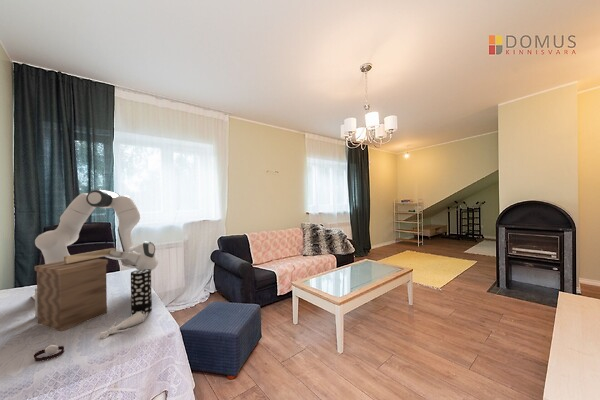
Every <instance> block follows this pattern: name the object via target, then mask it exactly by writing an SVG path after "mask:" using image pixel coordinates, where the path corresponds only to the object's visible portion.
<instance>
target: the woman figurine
mask: <svg viewBox="0 0 600 400" xmlns="http://www.w3.org/2000/svg"><path fill="white" fill-rule="evenodd" d="M144 313H145V312H144V311H143V314H142V313H141V312H137V313H135V314H134V315H131V316H129V317H127V318H126V319H124V320H123V321H122V322H120V323H119V324H118V325H117V322H116V321H115V322H114V323H113V325H112V326H111V327H110V328H108V330H105V331H101V332H100V333H99V334H98V338H99V339H102V340H103V339H105V338H108V337H109V336H110V335H114V334H117V333H121V332H126V331H130V330H132V328H131V327H133V326H136V325H139V324H142V323H144V321H145V318H146V317H147V316H148V313H147V312H146V314H144Z"/></svg>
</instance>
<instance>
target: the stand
mask: <svg viewBox="0 0 600 400" xmlns="http://www.w3.org/2000/svg"><path fill="white" fill-rule="evenodd" d="M108 264H109V259H103V258H93V259H88V260H83V261H78V262H73V263H68V264H67V263H64V261H60V262H55V263H49V264H45V263H44V264H39V265H35V266H34V271H35V272H36V288H37V317H36V318H37V324H38V325H40V326H44V327H46V328H47V327H48V328H49V329H53V330H56V331H59V332H63V331H66V330H67V329H70V328H74V327H75V326H78V325H80V324H83V323H86V322H88V321H90V320H93V319H96V318H97V317H100V316H103V315H106V314H107V313H108V304H107V303H108V302H107V300H108V298H107V297H108V295H107V265H108Z"/></svg>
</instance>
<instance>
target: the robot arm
mask: <svg viewBox="0 0 600 400" xmlns="http://www.w3.org/2000/svg"><path fill="white" fill-rule="evenodd" d="M96 208H99V209H113V210H114V212H115V214H116V216H117V220H118V226H117V234H118V237H119V242H120V245H121V249H122V251H117V250H116V251H112V250H110V251H109V252H108V253H109V254H112V255H108V256H103V257H105V258H108V259H112V260H116V261H117V260H118V261H120V262H121V264H122V266H124V267H127V268H130V269H135V270H141V269H151V272H152V271H154V270H155V269H156V268H157V266H158V264H159V262H158V260H157V258H156V254H155V253H156V246H155V244H154V243H153V242H151V241H149V240H145V241H143V242H141V243H138V244H137V245H135V246H134V242H133V239H132V238H133V237H132V236H131V235H132V231H133V229H134V228H135V227H136V226H137V224H138V223H139V222H140V220H141V214H140V211H139V210H138V207H137V205H136V204H135V202H134V200H133V199H132V197H130V196H129V195H120V194H119V193H117V192H113V191H111V190H104V189H93V190H91V191H89V192H87V193H86V192H81V193H80V194H79V195H77V196H76V197H75V198H74V199H73V200H72V201H71V202H70V203H69V205H68V206H67V208H66V209H65V210H64V212H63V213H62V214H61V215H60V217H59V224H58V226H57V227H56V228H55V229H54V230H47V231H45V232H42V233H40V234H38V236H36V238H35V240H34V244H35V247H36V248H37V249H39V250H40V251H41V254H42V256H43V260H44V264H49V263H55V262H60V261H64V256H70V255H71V254H70V253H69V250H68V246H71V245H73V244H74V243H76V242H77V241H78V239H79V238H80V232H81V230H82V227H83V225H84V224H85V223H86V221H87V220H88V218H89V217H90V216H91V214H92V213H93V212H94V210H95V209H96ZM35 292H37V287H35V288H34V293H33V294H31V296H30V297H31V298H32V299H33V300H34V301H35Z"/></svg>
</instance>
